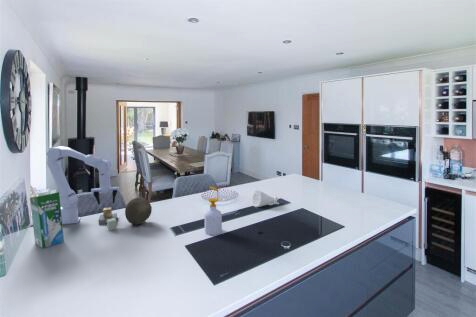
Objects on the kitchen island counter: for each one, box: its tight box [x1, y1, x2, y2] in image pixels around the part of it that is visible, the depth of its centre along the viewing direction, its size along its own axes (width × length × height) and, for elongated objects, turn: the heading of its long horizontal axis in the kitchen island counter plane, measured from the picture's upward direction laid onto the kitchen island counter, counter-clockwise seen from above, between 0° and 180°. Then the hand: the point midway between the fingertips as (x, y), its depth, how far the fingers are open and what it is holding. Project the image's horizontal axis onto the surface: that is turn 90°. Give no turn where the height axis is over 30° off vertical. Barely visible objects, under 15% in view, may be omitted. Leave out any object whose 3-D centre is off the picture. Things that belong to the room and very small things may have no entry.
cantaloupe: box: [124, 197, 153, 226], centre depth 154 cm, size 14×14×15 cm
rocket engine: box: [252, 189, 280, 208], centre depth 189 cm, size 12×12×18 cm
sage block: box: [106, 218, 118, 231], centre depth 148 cm, size 4×4×5 cm
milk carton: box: [29, 191, 65, 249], centre depth 130 cm, size 9×9×25 cm
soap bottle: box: [203, 185, 223, 236], centre depth 143 cm, size 9×9×25 cm
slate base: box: [97, 212, 118, 225], centre depth 159 cm, size 9×9×2 cm
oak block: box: [102, 206, 113, 218], centre depth 159 cm, size 4×4×5 cm
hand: (106, 203), depth 159 cm, fingers open, 7 cm apart
